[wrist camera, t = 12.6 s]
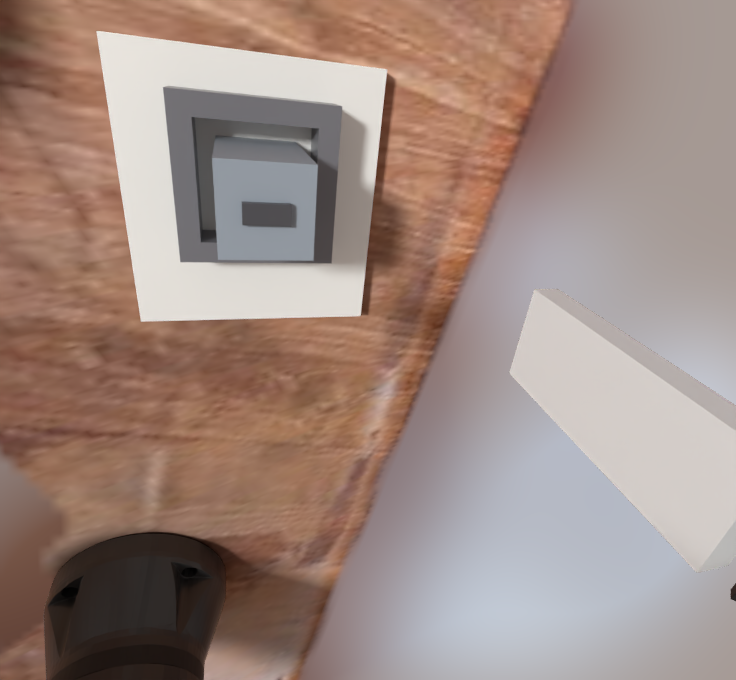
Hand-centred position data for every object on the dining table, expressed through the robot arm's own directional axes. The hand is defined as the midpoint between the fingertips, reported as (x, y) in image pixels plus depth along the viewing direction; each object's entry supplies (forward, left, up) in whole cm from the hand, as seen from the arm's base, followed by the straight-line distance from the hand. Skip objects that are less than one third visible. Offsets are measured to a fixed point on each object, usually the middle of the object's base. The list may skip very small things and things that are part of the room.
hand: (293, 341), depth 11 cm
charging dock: (-1, 0, -21) cm, 21 cm away
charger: (0, 0, -20) cm, 20 cm away
